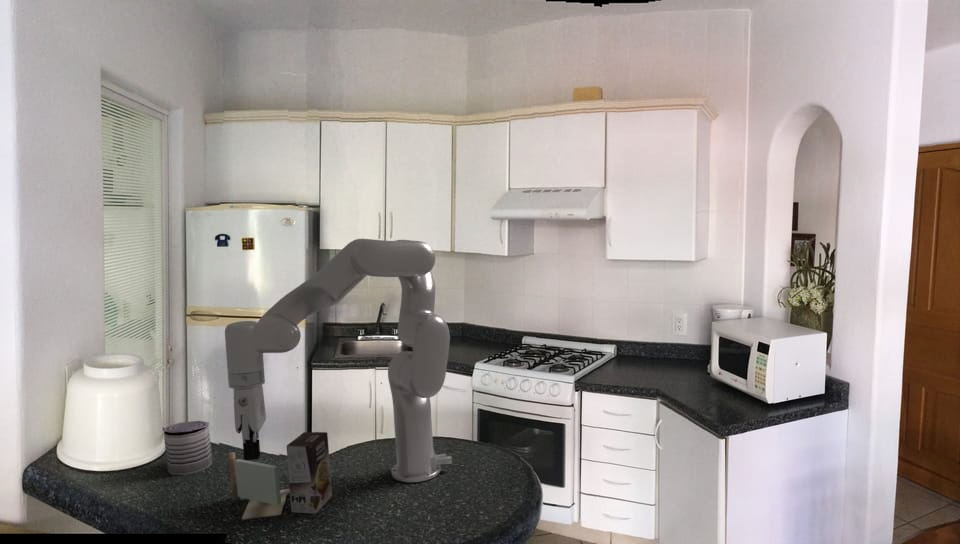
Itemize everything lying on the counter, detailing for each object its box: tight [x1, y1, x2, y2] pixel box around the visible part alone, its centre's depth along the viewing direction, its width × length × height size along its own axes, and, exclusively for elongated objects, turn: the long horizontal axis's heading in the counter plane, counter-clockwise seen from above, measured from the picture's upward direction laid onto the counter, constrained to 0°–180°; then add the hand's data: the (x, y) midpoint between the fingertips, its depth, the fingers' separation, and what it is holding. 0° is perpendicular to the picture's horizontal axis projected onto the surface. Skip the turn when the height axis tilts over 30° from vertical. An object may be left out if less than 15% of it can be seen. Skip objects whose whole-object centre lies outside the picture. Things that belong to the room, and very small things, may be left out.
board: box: [241, 494, 288, 521], centre depth 150 cm, size 8×10×1 cm
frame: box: [227, 451, 290, 501], centre depth 156 cm, size 18×3×11 cm, turn 99°
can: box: [161, 420, 213, 476], centre depth 176 cm, size 11×11×12 cm
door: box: [235, 458, 281, 505], centre depth 151 cm, size 12×1×9 cm, turn 64°
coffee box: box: [285, 431, 333, 515], centre depth 150 cm, size 9×6×16 cm
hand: (252, 458), depth 142 cm, fingers closed
